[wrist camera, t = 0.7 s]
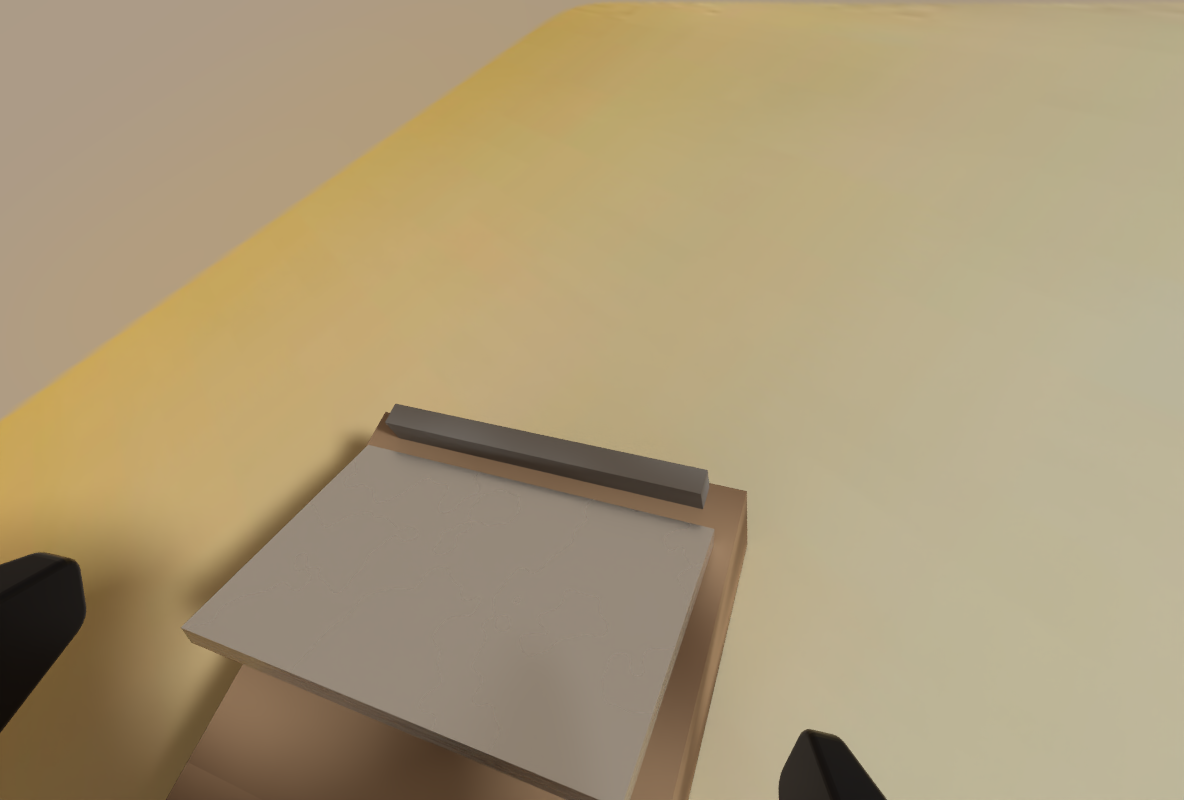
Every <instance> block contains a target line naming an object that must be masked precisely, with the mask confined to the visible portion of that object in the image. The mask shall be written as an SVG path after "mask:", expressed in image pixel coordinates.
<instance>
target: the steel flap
mask: <svg viewBox="0 0 1184 800" xmlns="http://www.w3.org/2000/svg"><path fill="white" fill-rule="evenodd" d="M714 531H715V529H713V528H708V527H704V526H700V525H696V524H692V523H688V522H684V521H680V520H676V519H671V518H667V517H663V516H659V515H655V514H651V513H647V512H643V511H639V510H634V509H630V508H626V507H622V506H618V505H614V504H610V503H606V502H602V501H597V500H593V499H589V498H585V497H581V496H577V495H573V494H569V493H565V492H560V491H556V490H552V489H548V488H544V487H540V486H536V485H532V484H528V483H523V482H519V481H515V480H511V479H507V478H503V477H499V476H495V475H491V474H486V473H482V472H478V471H474V470H470V469H466V468H462V467H458V466H454V465H449V464H445V463H441V462H437V461H433V460H429V459H425V458H421V457H417V456H412V455H408V454H404V453H400V452H396V451H392V450H388V449H384V448H380V447H375V446H371V445H368V446H366V447H365V448H364V449H363V450H362V451H361V452H360V453H359V454H358V455H357V456H356V457H355V458H354V459H353V460H352V461H351V462H350V463H349V464H348V465H347V466H346V467H345V468H344V469H343V470H342V471H341V472H340V473H339V474H338V475H337V476H336V477H335V478H334V479H333V480H332V481H331V482H330V483H329V484H327V485H326V486H325V487H324V488H323V489H322V490H321V491H320V492H319V493H318V494H317V495H316V496H315V497H314V498H313V499H312V500H311V501H310V502H309V503H308V504H307V505H306V506H305V507H304V508H303V509H302V510H301V511H300V512H299V513H298V514H297V515H296V516H295V517H294V518H293V519H292V520H291V521H290V522H288V523H287V524H286V525H285V526H284V527H283V528H282V529H281V530H280V531H279V532H278V533H277V534H276V535H275V536H274V537H273V538H272V539H271V540H270V541H269V542H268V543H267V544H266V545H265V546H264V547H263V548H262V549H261V550H260V551H259V552H258V553H257V554H256V555H255V556H254V557H253V558H252V559H251V560H250V561H248V562H247V563H246V564H245V565H244V566H243V567H242V568H241V569H240V570H239V571H238V572H237V573H236V574H235V575H234V576H233V577H232V578H231V579H230V580H229V581H228V582H227V583H226V584H225V585H224V586H223V587H222V588H221V589H220V590H219V591H218V592H217V593H216V594H215V595H214V596H213V597H212V598H211V599H209V600H208V601H207V602H206V603H205V604H204V605H203V606H202V607H201V608H200V609H199V610H198V611H197V612H196V613H195V614H194V615H193V616H192V617H191V618H190V619H189V620H188V621H187V622H186V623H185V624H184V625H183V626H182V627H181V629H182V630H183V632H184V633H185V634H186V636H187V637H188V639H189V640H190V641H191V643H193V644H196V645H198V646H201V647H203V648H205V649H208V650H210V651H213V652H215V653H217V654H220V655H222V656H224V657H227V658H229V659H232V660H234V661H236V662H239V663H241V664H244V665H246V666H248V667H251V668H253V669H255V670H258V671H260V672H263V673H265V674H267V675H270V676H272V677H275V678H277V679H279V680H282V681H284V682H287V683H289V684H291V685H294V686H296V687H298V688H301V689H303V690H306V691H308V692H310V693H313V694H315V695H318V696H320V697H322V698H325V699H327V700H329V701H332V702H334V703H337V704H339V705H341V706H344V707H346V708H349V709H351V710H353V711H356V712H358V713H360V714H363V715H365V716H368V717H370V718H372V719H375V720H377V721H380V722H382V723H384V724H387V725H389V726H392V727H394V728H396V729H399V730H401V731H403V732H406V733H408V734H411V735H413V736H415V737H418V738H420V739H423V740H425V741H427V742H430V743H432V744H434V745H437V746H439V747H442V748H444V749H446V750H449V751H451V752H454V753H456V754H458V755H461V756H463V757H465V758H468V759H470V760H473V761H475V762H477V763H480V764H482V765H485V766H487V767H489V768H492V769H494V770H497V771H499V772H501V773H504V774H506V775H508V776H511V777H513V778H516V779H518V780H520V781H523V782H525V783H528V784H530V785H532V786H535V787H537V788H539V789H542V790H544V791H547V792H549V793H551V794H554V795H556V796H559V797H561V798H563V799H566V800H630V798H631V795H632V792H633V789H634V786H635V783H636V780H637V777H638V774H639V771H640V768H641V765H642V761H643V758H644V755H645V752H646V749H647V746H648V743H649V740H650V737H651V734H652V731H653V728H654V725H655V722H656V719H657V716H658V713H659V710H660V707H661V704H662V701H663V697H664V694H665V691H666V688H667V685H668V682H669V679H670V676H671V673H672V670H673V667H674V664H675V661H676V658H677V655H678V652H679V649H680V646H681V643H682V640H683V636H684V633H685V630H686V627H687V624H688V621H689V618H690V615H691V612H692V609H693V606H694V603H695V600H696V597H697V594H698V591H699V588H700V585H701V582H702V579H703V575H704V572H705V569H706V566H707V563H708V560H709V557H710V554H711V551H712V548H713V545H714Z"/></svg>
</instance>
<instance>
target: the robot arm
mask: <svg viewBox="0 0 1184 800" xmlns="http://www.w3.org/2000/svg"><path fill="white" fill-rule="evenodd" d="M85 615H86V602H85V596H84V589H83V583H82V577H81V570H80V567H79V565H78V563H77V562H76V561H75V560H73V559H71V558H67V557H63V556H59V555H54V554H50V553H34V554H30V555H27V556H24V557H21V558H18V559H16V560H13V561H10V562H7V563H4V564H1V565H0V732H1V731H2V730H3V728H4V727H5V726H6V725H7V723H8V722H9V721H10V719H11V718H12V717H13V715H14V714H15V713H16V712H17V710H18V709H19V708H20V706H21V705H22V704H23V702H24V701H25V700H26V699H27V697H28V696H29V695H30V693H31V692H32V691H33V689H34V688H35V687H36V686H37V684H38V683H39V682H40V680H41V679H42V678H43V676H44V675H45V674H46V673H47V671H48V670H49V669H50V667H51V666H52V665H53V663H54V662H55V661H56V660H57V658H58V657H59V656H60V654H61V653H62V652H63V650H64V649H65V648H66V647H67V645H68V644H69V643H70V641H71V640H72V639H73V637H74V636H75V635H76V634H77V632H78V631H79V629H80V627H81V626H82V624H83V621H84V619H85ZM779 800H887V799H886V798H885V796H884V795H883V794H882V792H881V791H880V790H879V788H878V787H877V786H876V784H875V783H874V782H873V780H872V779H871V778H870V776H869V775H868V774H867V772H866V771H865V770H864V768H863V767H862V766H861V764H860V763H859V761H858V760H857V759H856V757H855V756H854V755H853V753H852V752H851V751H850V749H849V748H848V747H847V745H846V744H845V743H844V742H843V741H842V740H841V739H840V738H839V737H837V736H836V735H833V734H829V733H824V732H820V731H816V730H811V729H807V730H805V731H803V732H802V733H801V734H800V736H799V738H798V740H797V742H796V744H795V746H794V748H793V750H792V752H791V754H790V756H789V758H788V760H787V762H786V763H785V765H784V767H783V770H782V772H781V776H780V781H779Z"/></svg>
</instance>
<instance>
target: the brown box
mask: <svg viewBox="0 0 1184 800" xmlns="http://www.w3.org/2000/svg"><path fill="white" fill-rule="evenodd" d="M368 445H371V446H375V447H380V448H384V449H388V450H392V451H396V452H400V453H404V454H408V455H412V456H417V457H421V458H425V459H429V460H433V461H437V462H441V463H445V464H449V465H454V466H458V467H462V468H466V469H470V470H474V471H478V472H482V473H486V474H491V475H495V476H499V477H503V478H507V479H511V480H515V481H519V482H523V483H528V484H532V485H536V486H540V487H544V488H548V489H552V490H556V491H560V492H565V493H569V494H573V495H577V496H581V497H585V498H589V499H593V500H597V501H602V502H606V503H610V504H614V505H618V506H622V507H626V508H630V509H634V510H639V511H643V512H647V513H651V514H655V515H659V516H663V517H667V518H671V519H676V520H680V521H684V522H688V523H692V524H696V525H700V526H704V527H708V528H713V529H715V531H714V545H713V548H712V551H711V554H710V557H709V560H708V563H707V566H706V569H705V572H704V575H703V579H702V582H701V585H700V588H699V591H698V594H697V597H696V600H695V603H694V606H693V609H692V612H691V615H690V618H689V621H688V624H687V627H686V630H685V633H684V636H683V640H682V643H681V646H680V649H679V652H678V655H677V658H676V661H675V664H674V667H673V670H672V673H671V676H670V679H669V682H668V685H667V688H666V691H665V694H664V697H663V701H662V704H661V707H660V710H659V713H658V716H657V719H656V722H655V725H654V728H653V731H652V734H651V737H650V740H649V743H648V746H647V749H646V752H645V755H644V758H643V761H642V765H641V768H640V771H639V774H638V777H637V780H636V783H635V786H634V789H633V792H632V795H631V798H630V800H688V799H689V794H690V790H691V786H692V781H693V777H694V773H695V768H696V764H697V760H698V755H699V751H700V747H701V742H702V738H703V734H704V729H705V725H706V721H707V716H708V712H709V708H710V703H711V699H712V695H713V690H714V686H715V682H716V677H717V673H718V669H719V664H720V660H721V656H722V651H723V647H724V643H725V638H726V634H727V630H728V625H729V621H730V617H731V612H732V608H733V604H734V599H735V595H736V591H737V586H738V582H739V578H740V573H741V569H742V565H743V560H744V556H745V552H746V547H747V491H743V490H738V489H734V488H729V487H724V486H720V485H715V484H711V483H709V479H708V471H707V470H704V469H699V468H695V467H690V466H685V465H680V464H676V463H671V462H666V461H662V460H657V459H652V458H648V457H643V456H638V455H634V454H629V453H624V452H619V451H615V450H610V449H605V448H601V447H596V446H591V445H587V444H582V443H577V442H572V441H568V440H563V439H558V438H554V437H549V436H544V435H540V434H535V433H530V432H526V431H521V430H516V429H511V428H507V427H502V426H497V425H493V424H488V423H483V422H479V421H474V420H469V419H465V418H460V417H455V416H450V415H446V414H441V413H436V412H432V411H427V410H422V409H418V408H413V407H408V406H404V405H399V404H395V405H394V407H393V409H392V411H391V413H388V412H385V414H384V416H383V417H382V419H381V421H380V423H379V425H378V426H377V428H376V430H375V432H374V433H373V435H372V437H371V439H370V440H369V442H368V444H367V446H368ZM166 800H566V799H563V798H561V797H559V796H556V795H554V794H551V793H549V792H547V791H544V790H542V789H539V788H537V787H535V786H532V785H530V784H528V783H525V782H523V781H520V780H518V779H516V778H513V777H511V776H508V775H506V774H504V773H501V772H499V771H497V770H494V769H492V768H489V767H487V766H485V765H482V764H480V763H477V762H475V761H473V760H470V759H468V758H465V757H463V756H461V755H458V754H456V753H454V752H451V751H449V750H446V749H444V748H442V747H439V746H437V745H434V744H432V743H430V742H427V741H425V740H423V739H420V738H418V737H415V736H413V735H411V734H408V733H406V732H403V731H401V730H399V729H396V728H394V727H392V726H389V725H387V724H384V723H382V722H380V721H377V720H375V719H372V718H370V717H368V716H365V715H363V714H360V713H358V712H356V711H353V710H351V709H349V708H346V707H344V706H341V705H339V704H337V703H334V702H332V701H329V700H327V699H325V698H322V697H320V696H318V695H315V694H313V693H310V692H308V691H306V690H303V689H301V688H298V687H296V686H294V685H291V684H289V683H287V682H284V681H282V680H279V679H277V678H275V677H272V676H270V675H267V674H265V673H263V672H260V671H258V670H255V669H253V668H251V667H248V666H246V665H244V664H243V665H242V666H241V668H240V670H239V672H238V673H237V675H236V677H235V679H234V680H233V682H232V684H231V686H230V688H229V689H228V691H227V693H226V695H225V696H224V698H223V700H222V702H221V703H220V705H219V707H218V709H217V710H216V712H215V714H214V716H213V718H212V719H211V721H210V723H209V725H208V726H207V728H206V730H205V732H204V733H203V735H202V737H201V739H200V741H199V742H198V744H197V746H196V748H195V749H194V751H193V753H192V755H191V756H190V758H189V760H188V762H187V763H186V765H185V767H184V769H183V771H182V772H181V774H180V776H179V778H178V779H177V781H176V783H175V785H174V786H173V788H172V790H171V792H170V793H169V795H168V797H167V799H166Z"/></svg>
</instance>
